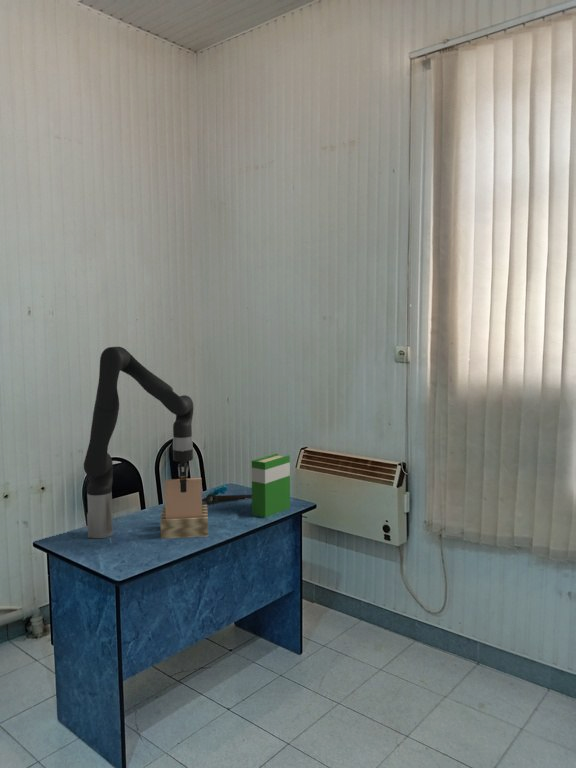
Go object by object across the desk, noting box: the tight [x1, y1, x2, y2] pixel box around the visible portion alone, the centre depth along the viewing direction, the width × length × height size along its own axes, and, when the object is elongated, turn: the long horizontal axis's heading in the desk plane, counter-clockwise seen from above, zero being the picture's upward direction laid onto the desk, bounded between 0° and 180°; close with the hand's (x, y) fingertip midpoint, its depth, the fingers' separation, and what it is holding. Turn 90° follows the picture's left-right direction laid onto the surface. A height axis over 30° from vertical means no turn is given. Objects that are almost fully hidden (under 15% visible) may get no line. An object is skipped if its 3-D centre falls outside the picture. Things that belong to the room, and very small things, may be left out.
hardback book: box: [251, 453, 291, 519], centre depth 281 cm, size 18×7×24 cm, turn 143°
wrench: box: [202, 493, 252, 506], centre depth 297 cm, size 5×5×30 cm
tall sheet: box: [164, 477, 203, 519], centre depth 248 cm, size 14×2×22 cm, turn 99°
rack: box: [159, 504, 209, 540], centre depth 255 cm, size 18×19×8 cm
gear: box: [206, 485, 228, 502], centre depth 299 cm, size 11×6×10 cm
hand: (183, 489), depth 247 cm, fingers open, 8 cm apart
